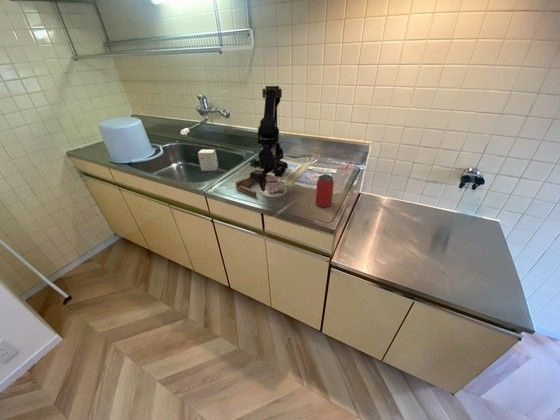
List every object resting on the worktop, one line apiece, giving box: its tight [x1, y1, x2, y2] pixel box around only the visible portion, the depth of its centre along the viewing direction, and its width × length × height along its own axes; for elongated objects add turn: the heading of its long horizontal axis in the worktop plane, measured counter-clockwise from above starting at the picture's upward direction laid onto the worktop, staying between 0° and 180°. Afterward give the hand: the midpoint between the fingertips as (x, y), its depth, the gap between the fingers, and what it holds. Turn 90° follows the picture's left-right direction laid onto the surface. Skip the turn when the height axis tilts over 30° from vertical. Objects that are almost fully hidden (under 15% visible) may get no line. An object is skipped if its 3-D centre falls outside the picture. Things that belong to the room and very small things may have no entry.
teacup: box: [259, 175, 287, 198], centre depth 111 cm, size 12×12×6 cm
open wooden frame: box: [235, 169, 283, 198], centre depth 116 cm, size 18×12×4 cm, turn 139°
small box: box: [197, 149, 219, 172], centre depth 132 cm, size 8×6×10 cm
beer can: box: [315, 174, 335, 208], centre depth 99 cm, size 7×7×12 cm
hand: (270, 187), depth 111 cm, fingers open, 9 cm apart
